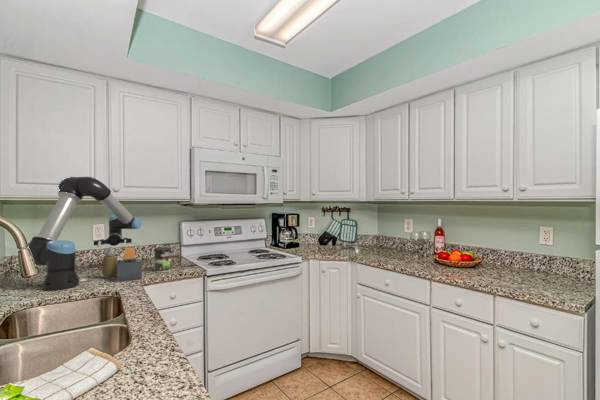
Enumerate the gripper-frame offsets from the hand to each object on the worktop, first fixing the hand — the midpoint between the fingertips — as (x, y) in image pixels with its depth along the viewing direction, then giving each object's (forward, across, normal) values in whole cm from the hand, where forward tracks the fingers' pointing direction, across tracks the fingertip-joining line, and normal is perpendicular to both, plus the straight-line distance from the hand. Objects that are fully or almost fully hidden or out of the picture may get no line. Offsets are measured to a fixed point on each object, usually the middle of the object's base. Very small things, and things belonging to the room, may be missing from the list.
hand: (112, 243), depth 184 cm
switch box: (+19, -10, -18) cm, 28 cm away
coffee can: (+6, -28, -19) cm, 34 cm away
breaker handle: (+17, -10, -8) cm, 21 cm away
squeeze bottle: (+10, 0, -18) cm, 21 cm away
